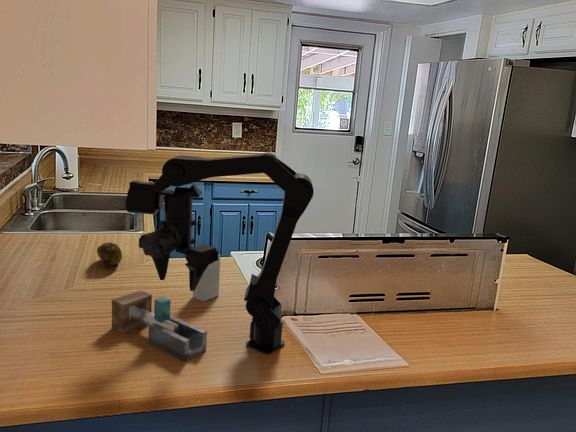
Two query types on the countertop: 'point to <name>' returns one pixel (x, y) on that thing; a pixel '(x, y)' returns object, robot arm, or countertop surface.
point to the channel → (178, 339)
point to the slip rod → (155, 315)
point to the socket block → (121, 310)
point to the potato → (109, 253)
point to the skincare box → (208, 282)
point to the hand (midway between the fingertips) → (177, 285)
